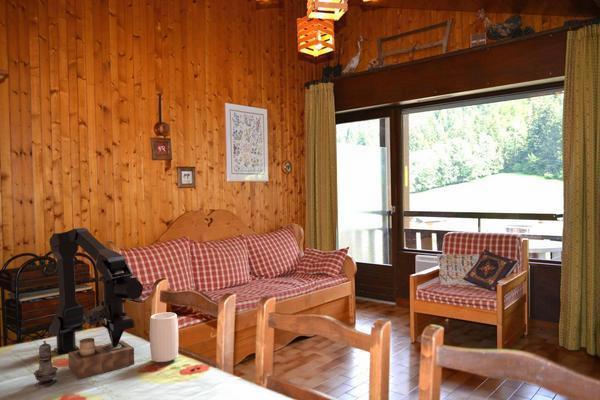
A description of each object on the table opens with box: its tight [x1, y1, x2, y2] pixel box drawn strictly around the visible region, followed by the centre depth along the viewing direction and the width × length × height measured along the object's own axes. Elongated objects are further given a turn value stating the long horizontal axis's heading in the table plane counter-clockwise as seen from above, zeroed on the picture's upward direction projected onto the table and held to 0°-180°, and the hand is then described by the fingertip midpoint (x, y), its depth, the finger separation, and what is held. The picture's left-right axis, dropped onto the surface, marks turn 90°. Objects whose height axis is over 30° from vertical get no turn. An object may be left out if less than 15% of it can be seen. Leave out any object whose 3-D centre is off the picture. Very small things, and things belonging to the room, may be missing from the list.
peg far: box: [108, 344, 122, 350], centre depth 141 cm, size 4×4×5 cm
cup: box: [149, 311, 179, 363], centre depth 142 cm, size 8×8×14 cm
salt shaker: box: [33, 340, 58, 389], centre depth 127 cm, size 6×6×12 cm
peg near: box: [79, 337, 95, 357], centre depth 136 cm, size 4×4×5 cm
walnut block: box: [67, 340, 135, 380], centre depth 139 cm, size 16×10×5 cm, turn 131°
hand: (114, 346), depth 141 cm, fingers closed, pressing on peg far
